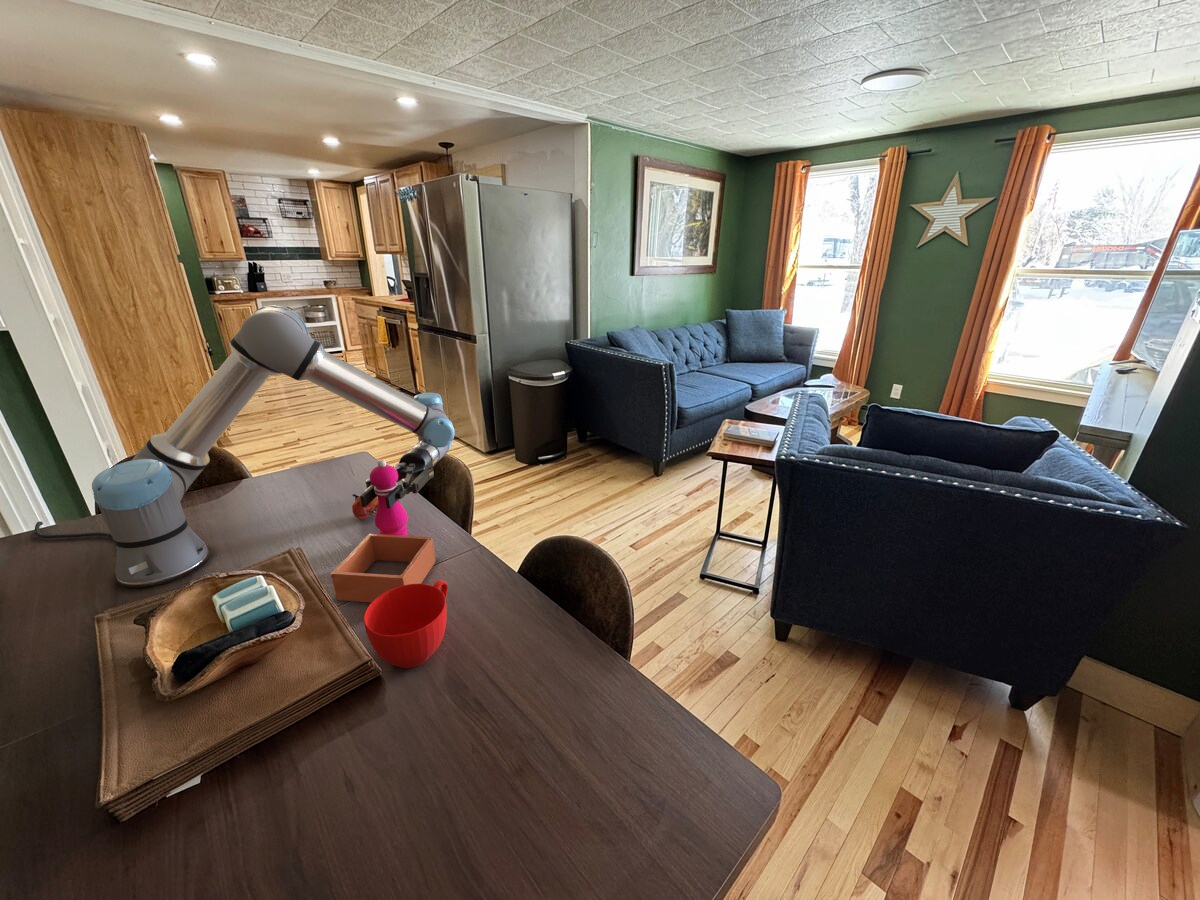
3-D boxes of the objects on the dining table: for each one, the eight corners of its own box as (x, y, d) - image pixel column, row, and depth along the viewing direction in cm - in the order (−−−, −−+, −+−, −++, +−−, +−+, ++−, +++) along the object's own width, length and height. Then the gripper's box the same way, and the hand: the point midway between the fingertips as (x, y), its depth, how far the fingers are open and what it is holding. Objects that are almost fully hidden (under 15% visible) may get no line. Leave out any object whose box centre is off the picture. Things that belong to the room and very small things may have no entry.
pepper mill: (399, 545, 111) (386, 468, 103) (371, 541, 112) (356, 465, 105) (415, 529, 118) (404, 455, 110) (389, 525, 119) (376, 452, 111)
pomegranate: (390, 518, 129) (364, 493, 130) (396, 505, 124) (370, 479, 125) (367, 534, 123) (340, 507, 124) (373, 520, 119) (345, 492, 119)
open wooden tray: (337, 600, 95) (330, 573, 93) (373, 557, 109) (369, 533, 106) (407, 604, 95) (402, 578, 92) (435, 561, 108) (432, 537, 106)
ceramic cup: (477, 622, 91) (473, 579, 87) (419, 693, 76) (411, 645, 72) (421, 606, 94) (415, 564, 91) (355, 670, 79) (344, 624, 76)
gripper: (384, 446, 126) (332, 485, 104) (450, 449, 125) (412, 489, 103) (388, 471, 129) (339, 514, 107) (453, 474, 128) (416, 519, 106)
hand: (375, 502), depth 105 cm, fingers closed on pepper mill, 5 cm apart
